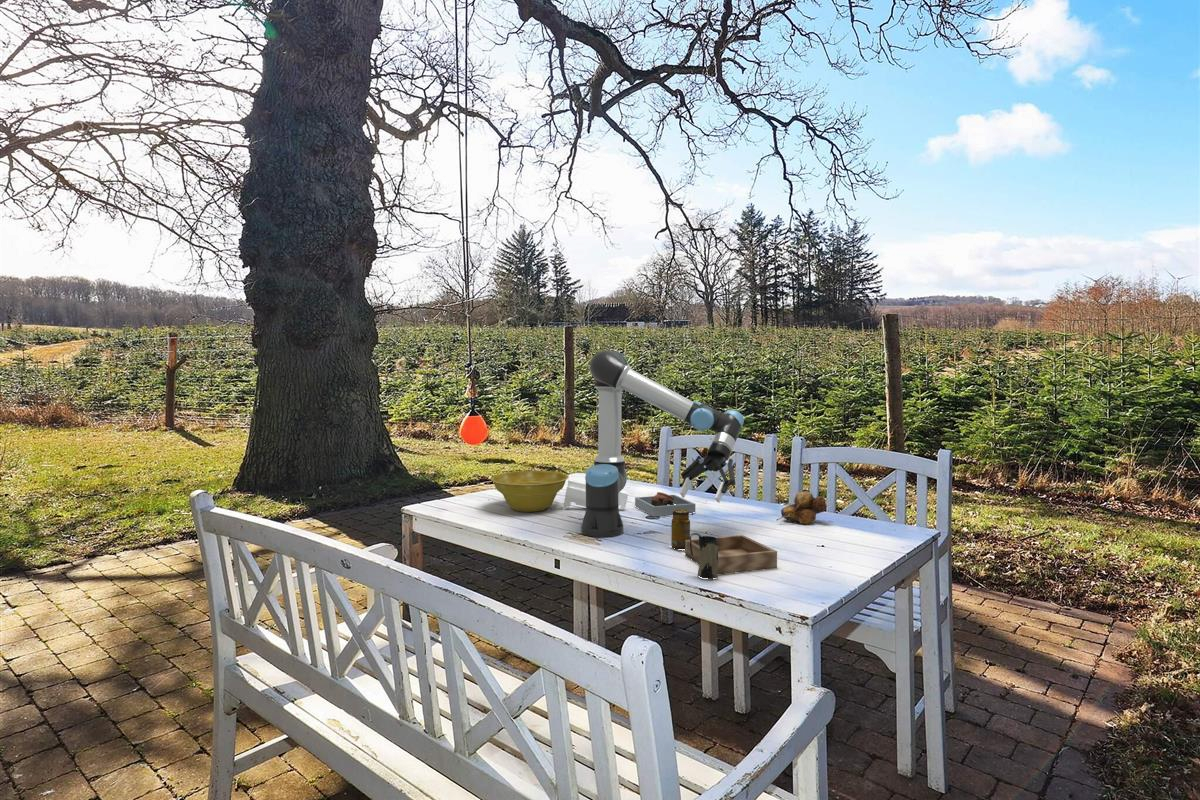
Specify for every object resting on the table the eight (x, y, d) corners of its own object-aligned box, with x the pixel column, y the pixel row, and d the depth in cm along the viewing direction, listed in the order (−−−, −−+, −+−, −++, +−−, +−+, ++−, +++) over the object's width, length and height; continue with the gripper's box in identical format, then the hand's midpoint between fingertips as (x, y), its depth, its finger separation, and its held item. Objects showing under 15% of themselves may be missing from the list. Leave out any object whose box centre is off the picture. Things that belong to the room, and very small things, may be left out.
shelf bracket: (563, 508, 281) (569, 479, 280) (622, 521, 279) (628, 491, 278) (561, 511, 276) (567, 481, 275) (621, 524, 273) (627, 494, 272)
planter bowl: (536, 521, 258) (536, 486, 257) (474, 511, 276) (474, 478, 275) (584, 505, 285) (583, 474, 284) (524, 497, 302) (524, 468, 302)
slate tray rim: (653, 517, 263) (653, 507, 263) (635, 506, 282) (635, 497, 282) (695, 513, 268) (695, 503, 268) (674, 503, 287) (674, 494, 287)
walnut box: (715, 575, 191) (715, 557, 191) (685, 556, 210) (685, 540, 210) (777, 568, 197) (777, 551, 197) (742, 550, 216) (742, 534, 216)
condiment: (684, 543, 225) (684, 507, 224) (698, 549, 217) (698, 513, 217) (665, 546, 222) (665, 510, 221) (679, 552, 214) (679, 515, 214)
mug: (720, 575, 191) (720, 533, 190) (715, 581, 186) (715, 538, 185) (693, 572, 194) (693, 530, 194) (687, 577, 189) (687, 535, 188)
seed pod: (826, 511, 241) (829, 491, 254) (781, 499, 246) (786, 480, 259) (818, 541, 247) (821, 520, 260) (774, 529, 251) (779, 509, 264)
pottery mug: (645, 509, 279) (652, 491, 281) (665, 519, 280) (672, 500, 282) (653, 508, 268) (661, 489, 270) (674, 517, 269) (681, 498, 271)
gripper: (757, 458, 232) (736, 508, 221) (694, 452, 248) (672, 499, 237) (750, 444, 227) (728, 495, 217) (686, 439, 243) (663, 486, 232)
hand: (699, 497), depth 227 cm, fingers open, 13 cm apart
